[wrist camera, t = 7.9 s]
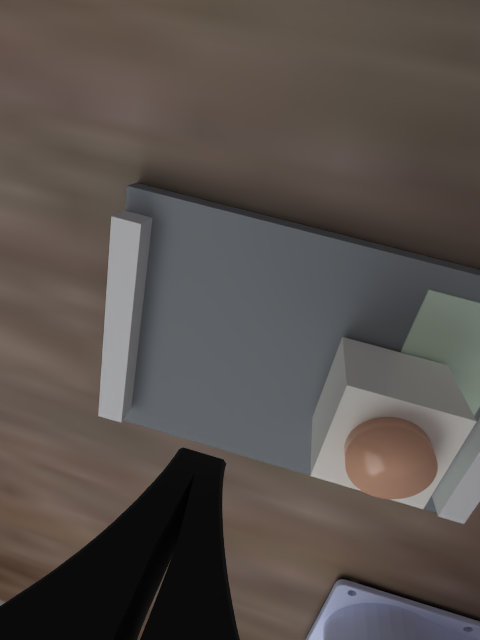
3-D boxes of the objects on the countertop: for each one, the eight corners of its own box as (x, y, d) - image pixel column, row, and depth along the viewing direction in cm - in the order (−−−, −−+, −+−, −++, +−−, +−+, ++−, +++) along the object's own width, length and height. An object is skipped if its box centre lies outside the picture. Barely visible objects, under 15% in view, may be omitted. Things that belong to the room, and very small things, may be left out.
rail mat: (573, 293, 16) (607, 316, 14) (442, 500, 22) (454, 537, 20) (136, 182, 17) (113, 190, 15) (116, 404, 23) (97, 431, 21)
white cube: (447, 365, 17) (485, 437, 13) (406, 444, 19) (428, 527, 15) (342, 336, 17) (348, 399, 13) (312, 417, 19) (309, 492, 15)
